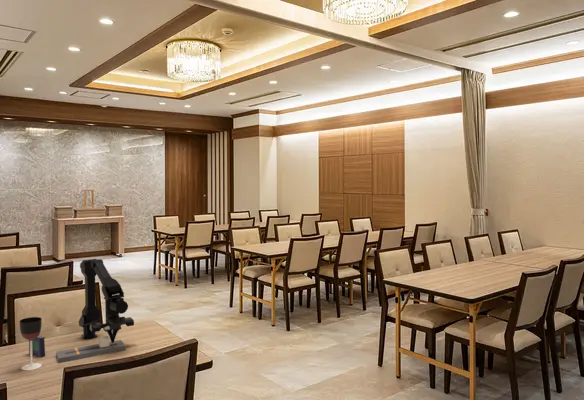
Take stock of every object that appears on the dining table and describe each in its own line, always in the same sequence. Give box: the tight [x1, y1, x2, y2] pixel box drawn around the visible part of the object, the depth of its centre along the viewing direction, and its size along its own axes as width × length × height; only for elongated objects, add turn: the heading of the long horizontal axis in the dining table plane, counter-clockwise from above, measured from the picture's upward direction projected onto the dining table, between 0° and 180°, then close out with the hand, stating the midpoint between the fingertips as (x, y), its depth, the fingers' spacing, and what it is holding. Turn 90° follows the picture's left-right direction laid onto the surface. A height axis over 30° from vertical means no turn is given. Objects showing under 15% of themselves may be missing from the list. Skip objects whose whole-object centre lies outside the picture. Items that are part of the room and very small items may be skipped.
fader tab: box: [97, 335, 110, 348], centre depth 210 cm, size 4×4×4 cm
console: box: [55, 339, 127, 364], centre depth 207 cm, size 10×28×2 cm, turn 123°
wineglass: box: [19, 316, 43, 371], centre depth 191 cm, size 8×9×20 cm
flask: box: [28, 333, 46, 358], centre depth 205 cm, size 9×3×11 cm, turn 65°
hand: (112, 342), depth 212 cm, fingers closed
